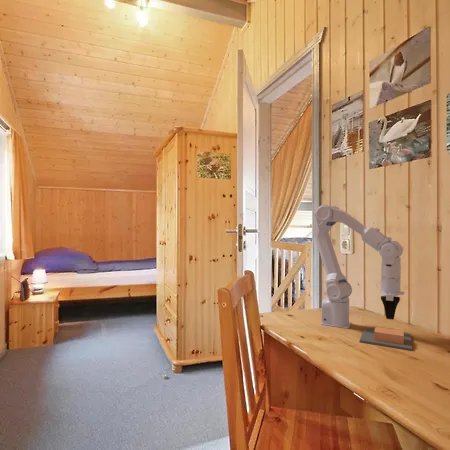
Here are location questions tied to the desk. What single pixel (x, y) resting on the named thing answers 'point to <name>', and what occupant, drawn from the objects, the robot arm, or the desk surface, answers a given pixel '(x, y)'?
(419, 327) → the desk surface
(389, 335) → the slab
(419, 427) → the desk surface
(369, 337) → the mat
